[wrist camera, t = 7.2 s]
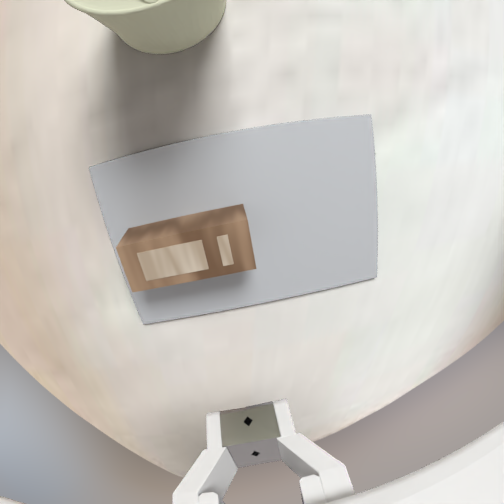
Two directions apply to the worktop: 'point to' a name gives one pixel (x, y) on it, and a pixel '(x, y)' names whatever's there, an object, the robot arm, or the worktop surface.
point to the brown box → (187, 248)
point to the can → (156, 21)
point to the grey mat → (256, 208)
